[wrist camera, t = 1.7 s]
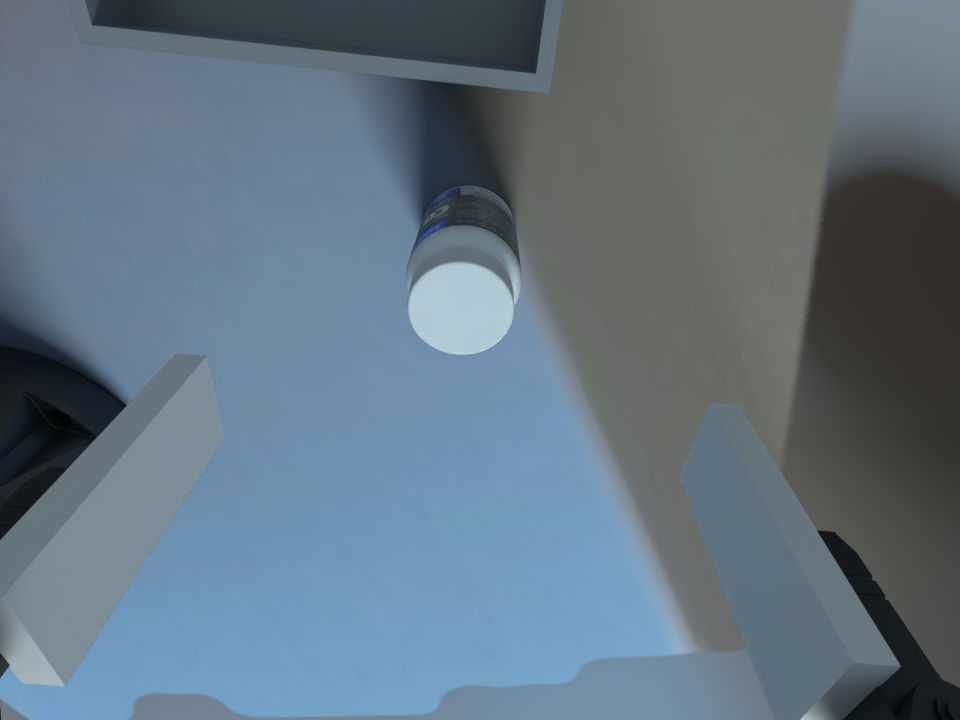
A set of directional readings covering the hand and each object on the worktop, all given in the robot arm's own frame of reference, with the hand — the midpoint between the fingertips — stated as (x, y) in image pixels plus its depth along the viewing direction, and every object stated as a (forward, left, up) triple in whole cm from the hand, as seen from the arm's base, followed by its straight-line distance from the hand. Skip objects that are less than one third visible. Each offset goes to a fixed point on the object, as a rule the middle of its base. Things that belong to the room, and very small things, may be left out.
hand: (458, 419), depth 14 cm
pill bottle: (0, 0, -15) cm, 15 cm away
